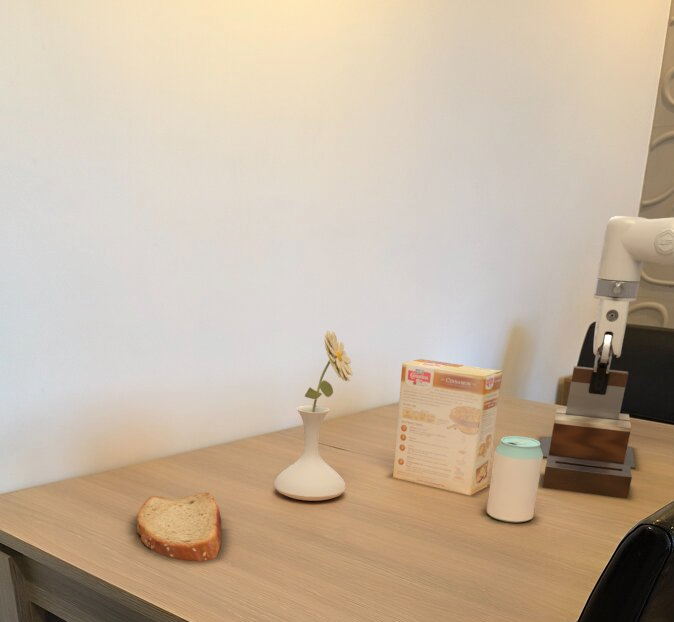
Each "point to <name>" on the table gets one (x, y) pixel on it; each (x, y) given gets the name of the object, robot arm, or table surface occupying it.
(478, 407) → the coffeecake box
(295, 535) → the table surface
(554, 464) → the slotted wooden block
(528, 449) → the can
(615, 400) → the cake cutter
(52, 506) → the table surface
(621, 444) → the wooden box
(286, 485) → the flower in vase
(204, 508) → the bread slice
